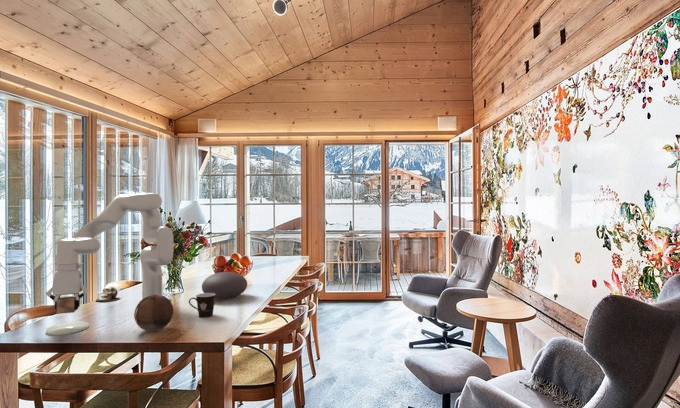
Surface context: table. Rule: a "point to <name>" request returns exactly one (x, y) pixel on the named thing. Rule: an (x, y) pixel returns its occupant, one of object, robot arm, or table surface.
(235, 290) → the flattened ellipsoid
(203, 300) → the coffee mug
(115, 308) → the table surface
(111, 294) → the skull
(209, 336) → the table surface
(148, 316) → the wooden sphere
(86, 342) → the table surface
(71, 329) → the sage plate
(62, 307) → the walnut cube
